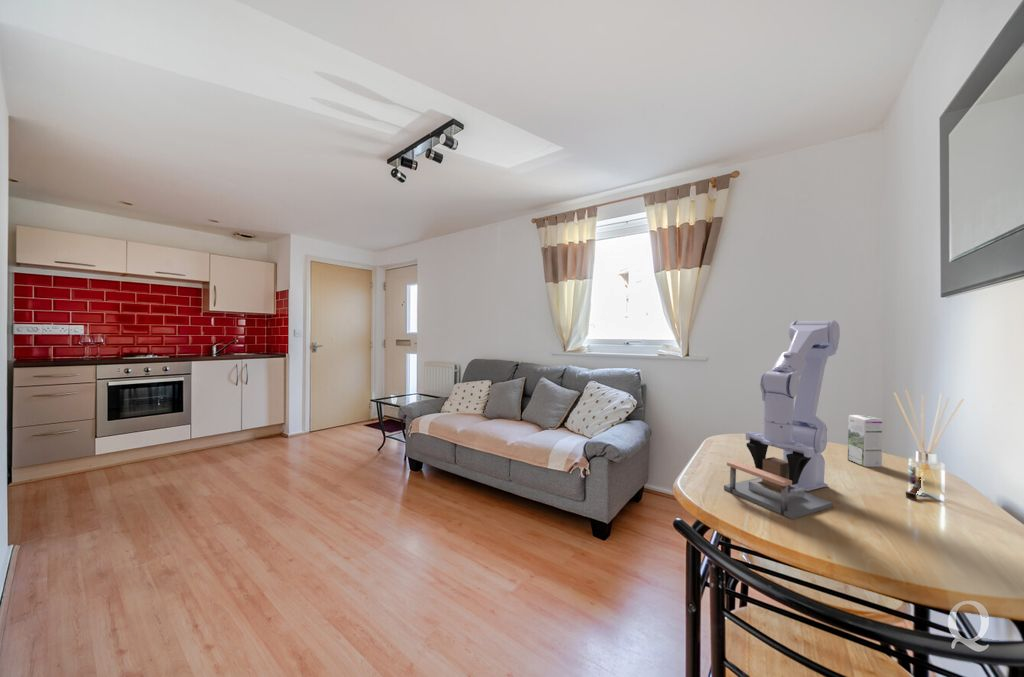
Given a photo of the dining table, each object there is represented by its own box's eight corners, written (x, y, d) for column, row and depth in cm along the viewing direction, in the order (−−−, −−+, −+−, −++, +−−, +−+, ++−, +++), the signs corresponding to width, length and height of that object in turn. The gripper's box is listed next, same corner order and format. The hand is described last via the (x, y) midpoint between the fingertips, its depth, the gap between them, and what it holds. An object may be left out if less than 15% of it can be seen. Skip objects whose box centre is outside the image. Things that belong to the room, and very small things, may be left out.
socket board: (762, 480, 100) (763, 452, 100) (832, 506, 85) (834, 474, 85) (721, 489, 94) (721, 460, 94) (789, 520, 79) (790, 485, 79)
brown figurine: (929, 490, 93) (927, 475, 92) (918, 509, 90) (915, 494, 89) (919, 487, 95) (917, 472, 94) (907, 506, 92) (905, 491, 91)
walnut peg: (772, 488, 92) (773, 457, 92) (789, 495, 89) (790, 462, 89) (761, 491, 91) (762, 459, 91) (778, 498, 87) (780, 464, 87)
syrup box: (882, 467, 111) (884, 419, 111) (862, 467, 111) (864, 418, 111) (865, 460, 117) (866, 414, 117) (846, 460, 117) (847, 414, 117)
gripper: (738, 416, 94) (736, 469, 95) (801, 430, 81) (799, 492, 81) (756, 414, 97) (754, 465, 98) (820, 427, 84) (818, 487, 84)
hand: (776, 477), depth 90 cm, fingers open, 7 cm apart
